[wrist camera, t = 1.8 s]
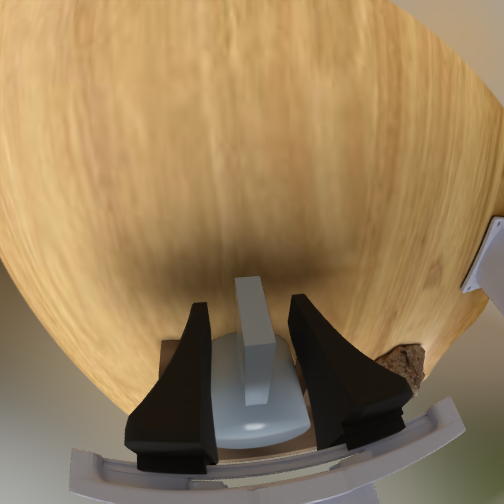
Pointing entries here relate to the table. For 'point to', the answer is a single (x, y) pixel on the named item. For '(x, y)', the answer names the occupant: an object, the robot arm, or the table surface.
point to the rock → (406, 364)
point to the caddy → (281, 449)
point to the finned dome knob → (254, 378)
